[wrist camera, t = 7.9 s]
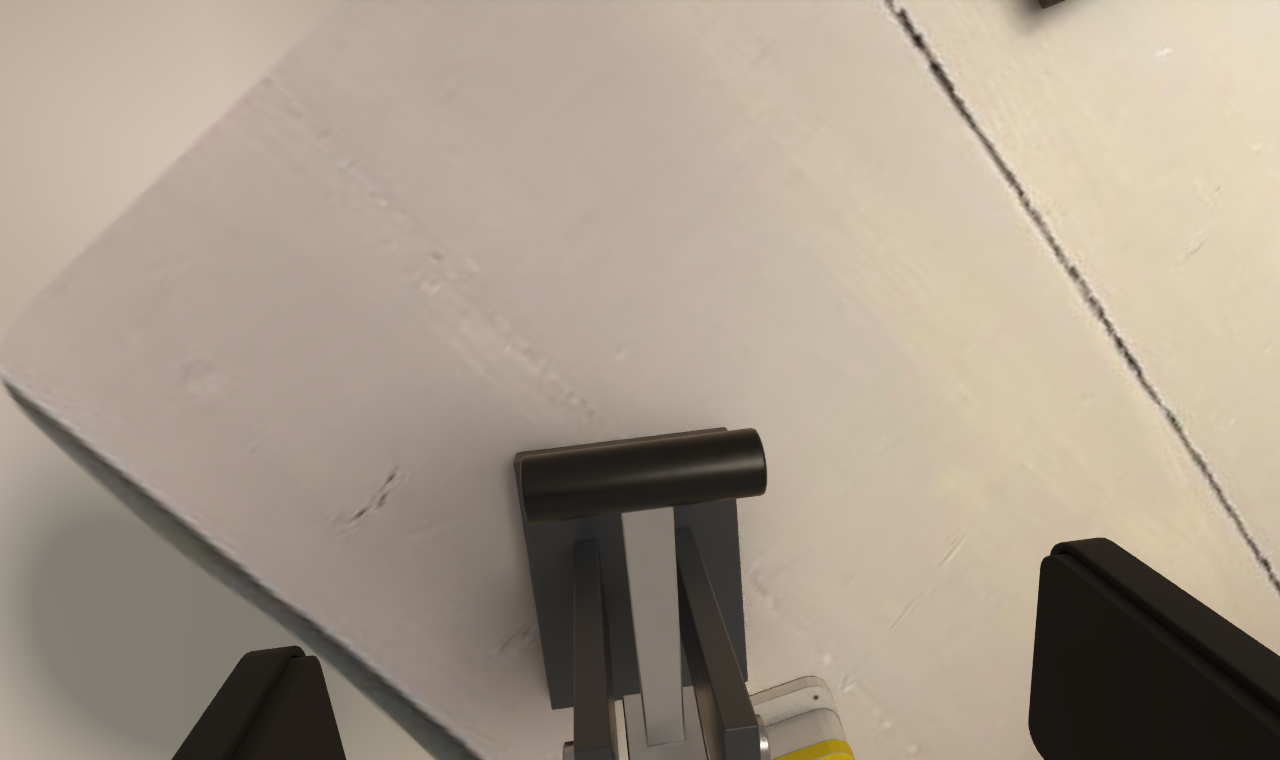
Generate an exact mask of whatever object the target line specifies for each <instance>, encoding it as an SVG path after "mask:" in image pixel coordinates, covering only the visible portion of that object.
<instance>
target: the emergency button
mask: <svg viewBox="0 0 1280 760" xmlns="http://www.w3.org/2000/svg"><path fill="white" fill-rule="evenodd" d="M749 697H750V700H751V703H752V706H753V709H754V712H755V714H760V715H761V717H762V718H763V721H764V724H765V727H766V731H767V736H768V741H769V747H770V760H855V759H854V757H853V754H852V751H851V748H850V747H849V745H848V742H847V740H846V737H845V734H844V732H843V728H842V725H841V722H840V719H839V716H838V712H837V709H836V706H835V703H834V700H833V697H832V695H831V693H830V691H829V689H828V687H827V685H826V684H825V682H824V681H823V680H821V679H819V678H817V677H815V676H813V677H803V678H801V679H798V680H795V681H792V682H789V683H786V684H783V685H781V686H778V687H775V688H772V689H769V690H766V691H763V692H760V693H758V694H755V695H752V696H749ZM703 733H704V732H703ZM704 738H705V736H704ZM705 743H706V740H705ZM706 748H707V744H706ZM707 753H708V749H707ZM708 758H709V760H710V757H709V753H708Z"/></svg>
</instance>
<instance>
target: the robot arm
mask: <svg viewBox="0 0 1280 760" xmlns="http://www.w3.org/2000/svg"><path fill="white" fill-rule="evenodd" d="M1028 723H1029V731H1030V735H1031V738H1032V740H1033V743H1034V745H1035V747H1036V749H1037V750H1038V752H1039V753H1040V755H1041V756H1042V757H1043V759H1044V760H1280V656H1279V655H1277V654H1276V653H1274V652H1273V651H1271V650H1270V649H1268V648H1267V647H1265V646H1264V645H1262V644H1261V643H1260V642H1258V641H1257V640H1255V639H1254V638H1252V637H1251V636H1249V635H1248V634H1246V633H1245V632H1244V631H1242V630H1241V629H1239V628H1238V627H1236V626H1235V625H1233V624H1232V623H1230V622H1229V621H1228V620H1226V619H1225V618H1223V617H1222V616H1220V615H1219V614H1217V613H1216V612H1214V611H1213V610H1212V609H1210V608H1209V607H1207V606H1206V605H1204V604H1203V603H1201V602H1200V601H1198V600H1197V599H1196V598H1194V597H1193V596H1191V595H1190V594H1188V593H1187V592H1185V591H1184V590H1182V589H1181V588H1179V587H1178V586H1177V585H1175V584H1174V583H1172V582H1171V581H1169V580H1168V579H1166V578H1165V577H1163V576H1162V575H1161V574H1159V573H1158V572H1156V571H1155V570H1153V569H1152V568H1150V567H1149V566H1147V565H1146V564H1145V563H1143V562H1142V561H1140V560H1139V559H1137V558H1136V557H1134V556H1133V555H1131V554H1130V553H1129V552H1127V551H1126V550H1124V549H1123V548H1121V547H1120V546H1118V545H1117V544H1115V543H1114V542H1112V541H1110V540H1108V539H1106V538H1092V539H1084V540H1077V541H1069V542H1062V543H1058V544H1057V545H1055V546H1054V547H1053V549H1052V550H1051V554H1050V556H1047V557H1045V558H1044V559H1043V561H1042V562H1041V567H1040V578H1039V591H1038V604H1037V617H1036V629H1035V642H1034V655H1033V668H1032V680H1031V693H1030V706H1029V719H1028ZM172 760H346V757H345V753H344V750H343V746H342V743H341V739H340V735H339V731H338V727H337V724H336V720H335V717H334V713H333V709H332V705H331V701H330V698H329V694H328V691H327V687H326V683H325V679H324V676H323V672H322V668H321V665H320V662H319V660H318V659H317V657H316V656H305V653H304V651H303V650H302V649H301V648H300V647H298V646H288V647H281V648H274V649H266V650H258V651H251V652H249V653H246V654H245V655H244V656H243V657H242V658H241V660H240V661H239V662H238V664H237V665H236V667H235V669H234V670H233V671H232V673H231V674H230V676H229V677H228V678H227V680H226V681H225V683H224V684H223V686H222V687H221V689H220V690H219V692H218V693H217V694H216V696H215V698H214V699H213V700H212V702H211V703H210V705H209V706H208V707H207V709H206V710H205V712H204V713H203V715H202V716H201V718H200V719H199V721H198V722H197V724H196V725H195V726H194V728H193V729H192V731H191V732H190V734H189V735H188V737H187V738H186V739H185V741H184V742H183V744H182V745H181V747H180V748H179V750H178V751H177V753H176V754H175V756H174V757H173V758H172Z"/></svg>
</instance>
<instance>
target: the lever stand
mask: <svg viewBox="0 0 1280 760" xmlns="http://www.w3.org/2000/svg"><path fill="white" fill-rule="evenodd" d="M724 431H727V429H726V428H725V427H723V428H715V429H707V430H699V431H691V432H683V433H674V434H666V435H658V436H650V437H642V438H634V439H625V440H617V441H609V442H601V443H593V444H585V445H577V446H568V447H560V448H552V449H544V450H536V451H528V452H519V453H516V457H515V461H514V470H515V477H516V483H517V490H518V496H519V502H520V509H521V515H522V522H523V528H524V534H525V541H526V547H527V553H528V560H529V566H530V573H531V579H532V585H533V592H534V598H535V605H536V611H537V617H538V624H539V630H540V636H541V643H542V649H543V656H544V662H545V668H546V675H547V681H548V688H549V694H550V700H551V707H552V709H553V710H555V709H562V708H569V707H574V741H569V742H565V743H564V745H563V760H619V753H618V740H617V727H616V714H615V701H617V700H623V699H622V698H623V696H624V695H631V694H638V693H641V692H640V683H639V674H638V665H637V655H636V646H635V637H634V628H633V619H632V610H631V601H630V591H629V582H628V573H627V564H626V555H625V546H624V537H623V528H622V518H621V514H613V515H606V516H598V517H590V518H582V519H575V520H567V521H559V522H551V523H544V524H536V525H531V524H529V523H528V522H527V520H526V517H525V513H524V507H523V501H522V493H521V481H520V464H521V459H522V457H524V456H529V455H537V454H545V453H553V452H561V451H569V450H577V449H585V448H594V447H602V446H610V445H618V444H626V443H634V442H642V441H651V440H659V439H667V438H675V437H683V436H691V435H699V434H707V433H716V432H724ZM673 514H674V533H675V552H676V571H677V590H678V610H679V629H680V648H681V667H682V686H683V687H686V686H694V687H695V692H696V697H697V702H698V707H699V712H700V717H701V722H702V727H703V732H704V736H705V740H706V744H707V749H708V753H709V757H710V760H770V747H769V741H768V736H767V731H766V727H765V724H764V721H763V718H762V717H761V715H760V714H755V712H754V709H753V706H752V703H751V700H750V697H749V694H748V691H747V688H746V685H745V682H747V681H748V673H747V658H746V643H745V628H744V612H743V597H742V582H741V567H740V551H739V536H738V521H737V506H736V499H730V500H722V501H714V502H707V503H699V504H691V505H683V506H675V507H673Z"/></svg>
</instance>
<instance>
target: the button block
mask: <svg viewBox="0 0 1280 760" xmlns="http://www.w3.org/2000/svg"><path fill="white" fill-rule="evenodd" d="M1039 1H1040V3H1041V5H1042V8H1046V7H1049V6H1052V5H1054V4H1057V3H1060V2H1062V1H1065V0H1039Z"/></svg>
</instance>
